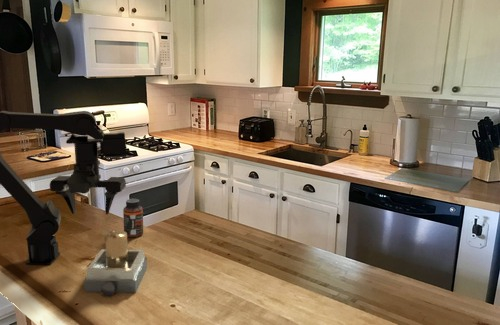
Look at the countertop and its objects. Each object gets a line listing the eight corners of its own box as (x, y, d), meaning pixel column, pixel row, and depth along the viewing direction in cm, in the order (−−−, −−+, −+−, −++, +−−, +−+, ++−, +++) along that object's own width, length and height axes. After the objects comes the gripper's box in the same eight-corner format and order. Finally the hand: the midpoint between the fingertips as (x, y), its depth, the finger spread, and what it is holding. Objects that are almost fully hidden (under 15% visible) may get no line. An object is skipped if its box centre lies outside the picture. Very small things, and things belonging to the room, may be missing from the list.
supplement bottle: (138, 239, 126) (136, 204, 124) (120, 237, 127) (118, 202, 125) (146, 231, 132) (145, 198, 129) (129, 229, 133) (128, 196, 130)
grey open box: (81, 296, 95) (80, 274, 93) (101, 267, 108) (100, 248, 107) (133, 296, 95) (133, 275, 94) (147, 268, 108) (146, 249, 107)
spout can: (103, 274, 99) (101, 231, 96) (109, 263, 104) (107, 223, 102) (125, 274, 99) (123, 231, 97) (130, 263, 104) (128, 223, 102)
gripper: (37, 165, 101) (42, 224, 105) (112, 166, 102) (115, 225, 105) (56, 155, 112) (61, 209, 116) (125, 157, 113) (127, 210, 116)
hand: (90, 213), depth 113 cm, fingers open, 9 cm apart
